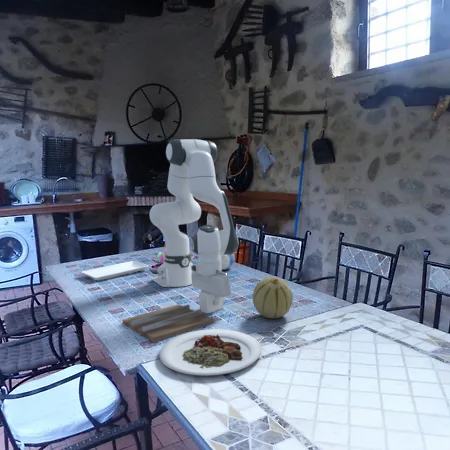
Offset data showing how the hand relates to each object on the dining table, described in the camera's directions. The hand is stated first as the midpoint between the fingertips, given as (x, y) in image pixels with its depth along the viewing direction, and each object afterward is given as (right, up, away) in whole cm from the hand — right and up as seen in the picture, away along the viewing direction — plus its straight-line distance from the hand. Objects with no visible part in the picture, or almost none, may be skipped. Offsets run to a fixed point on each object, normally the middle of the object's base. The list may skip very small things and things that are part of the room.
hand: (211, 303), depth 163 cm
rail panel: (-15, -5, -12) cm, 20 cm away
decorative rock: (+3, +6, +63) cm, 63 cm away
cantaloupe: (+23, -4, -9) cm, 25 cm away
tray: (-52, +4, +59) cm, 79 cm away
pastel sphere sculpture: (-26, +9, +89) cm, 94 cm away
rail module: (0, -3, 0) cm, 3 cm away
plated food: (+1, -9, -38) cm, 39 cm away
